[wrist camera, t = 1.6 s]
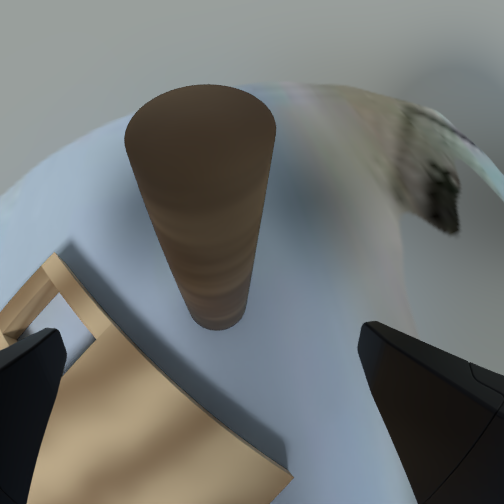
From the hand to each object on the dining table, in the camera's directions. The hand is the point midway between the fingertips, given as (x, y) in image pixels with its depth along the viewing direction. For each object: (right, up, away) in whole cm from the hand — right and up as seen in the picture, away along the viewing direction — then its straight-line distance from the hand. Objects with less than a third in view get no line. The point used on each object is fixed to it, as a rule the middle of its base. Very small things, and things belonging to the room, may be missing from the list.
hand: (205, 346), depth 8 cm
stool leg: (-1, -1, +13) cm, 13 cm away
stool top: (-12, -12, +6) cm, 18 cm away
